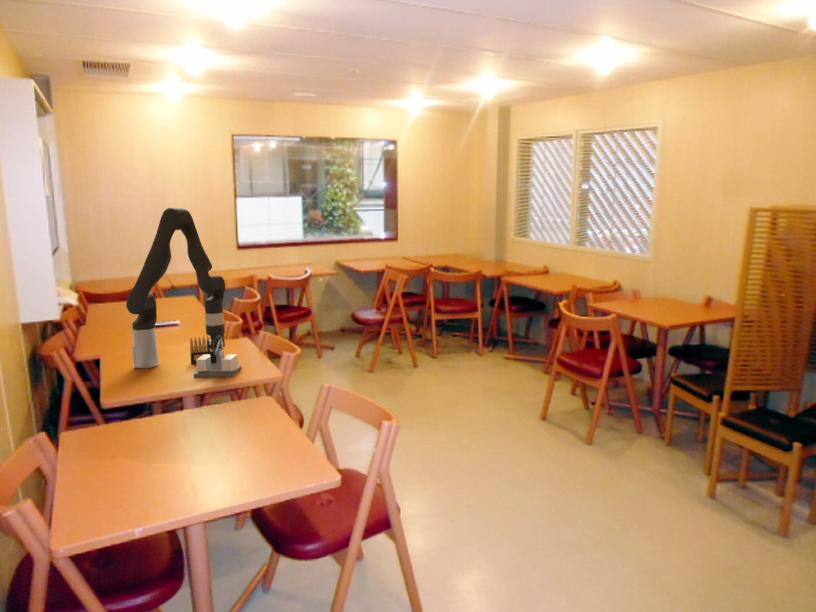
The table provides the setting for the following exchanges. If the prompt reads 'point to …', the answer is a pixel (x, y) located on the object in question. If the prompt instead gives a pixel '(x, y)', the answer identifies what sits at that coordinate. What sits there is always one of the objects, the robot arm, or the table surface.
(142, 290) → the robot arm
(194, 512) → the table surface
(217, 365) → the module block
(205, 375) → the mounting plate
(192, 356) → the ammunition clip
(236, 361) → the mounted modules
